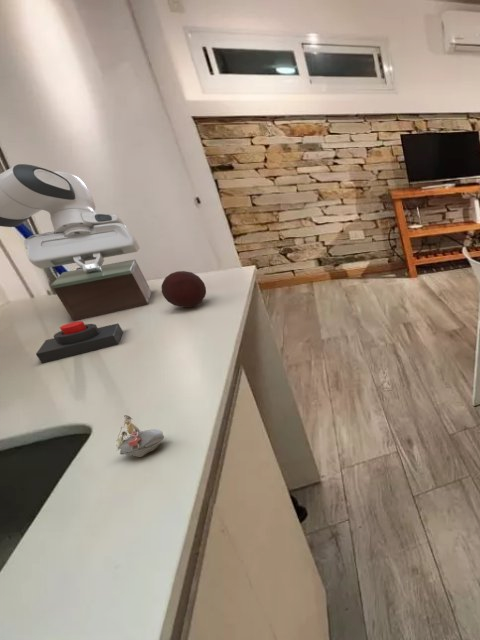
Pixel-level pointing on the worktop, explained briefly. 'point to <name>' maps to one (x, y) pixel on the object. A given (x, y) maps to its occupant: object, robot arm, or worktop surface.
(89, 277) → the chest lid
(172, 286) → the dark brown oval ball
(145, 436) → the figurine
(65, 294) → the chest
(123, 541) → the worktop surface
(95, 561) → the worktop surface
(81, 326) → the button
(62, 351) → the button box
